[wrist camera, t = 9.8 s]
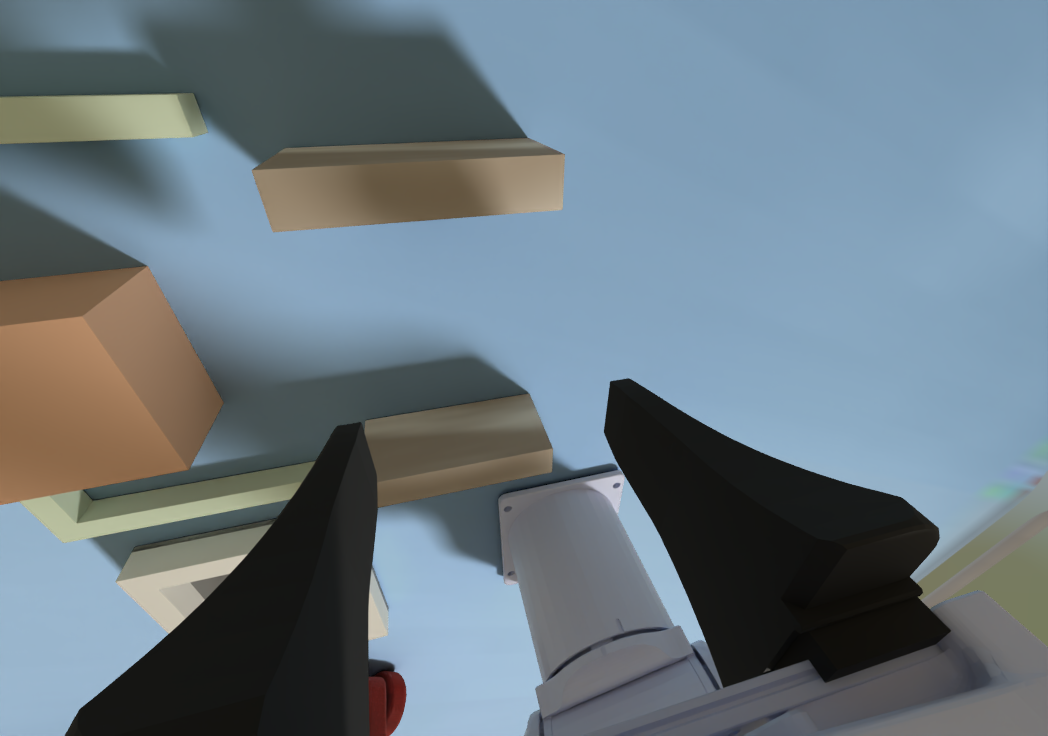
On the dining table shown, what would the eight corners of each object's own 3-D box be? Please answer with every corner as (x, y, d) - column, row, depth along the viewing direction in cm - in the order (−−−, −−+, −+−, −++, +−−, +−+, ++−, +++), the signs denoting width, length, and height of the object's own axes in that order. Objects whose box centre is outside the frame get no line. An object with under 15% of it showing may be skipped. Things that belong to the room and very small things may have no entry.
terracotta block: (225, 400, 18) (188, 469, 15) (58, 426, 17) (-20, 508, 14) (150, 263, 15) (81, 316, 11) (-65, 285, 13) (-208, 351, 10)
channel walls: (529, 415, 22) (552, 472, 19) (372, 443, 21) (368, 509, 18) (528, 137, 15) (564, 154, 12) (285, 148, 14) (251, 169, 10)
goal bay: (337, 472, 21) (334, 490, 20) (79, 519, 19) (63, 543, 18) (193, 93, 12) (176, 94, 11) (-326, 102, 10) (-401, 105, 9)
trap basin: (388, 607, 29) (388, 635, 28) (226, 647, 27) (216, 680, 26) (349, 504, 23) (346, 532, 21) (134, 546, 21) (115, 581, 19)
